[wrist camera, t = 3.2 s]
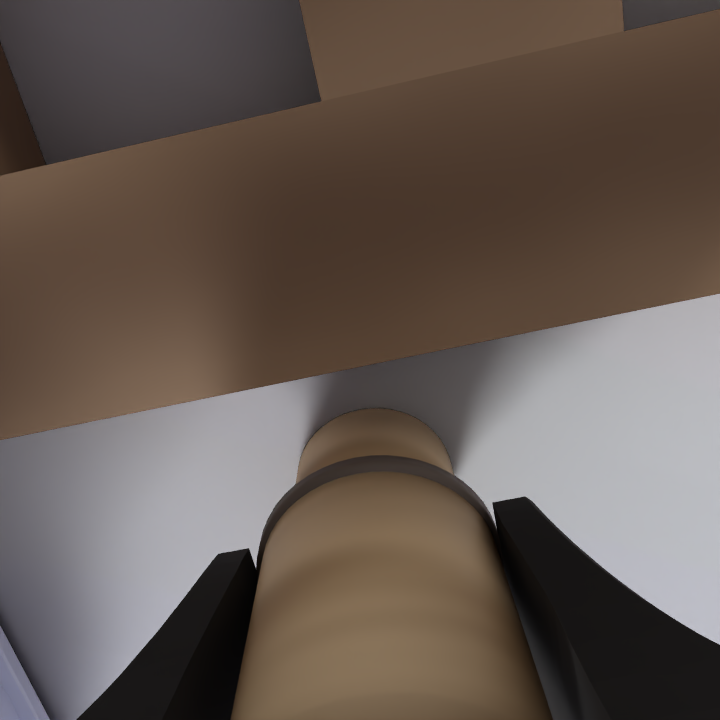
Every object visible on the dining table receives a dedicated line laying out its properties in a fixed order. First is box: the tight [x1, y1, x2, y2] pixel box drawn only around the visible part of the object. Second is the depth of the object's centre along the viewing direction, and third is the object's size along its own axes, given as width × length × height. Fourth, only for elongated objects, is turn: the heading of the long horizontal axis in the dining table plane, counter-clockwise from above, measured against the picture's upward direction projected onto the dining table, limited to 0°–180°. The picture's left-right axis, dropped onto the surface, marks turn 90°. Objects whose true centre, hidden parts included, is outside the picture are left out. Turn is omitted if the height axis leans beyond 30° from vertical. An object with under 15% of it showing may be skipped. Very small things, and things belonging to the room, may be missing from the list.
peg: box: [231, 408, 553, 720], centre depth 12 cm, size 5×5×8 cm
